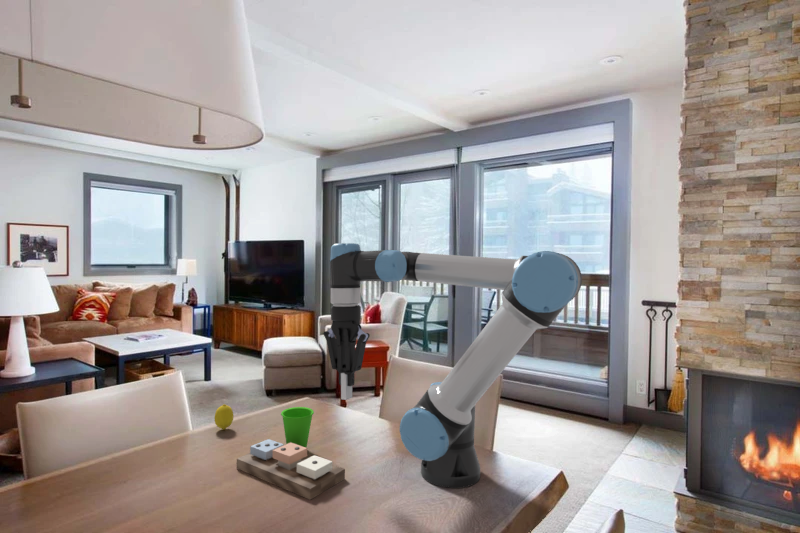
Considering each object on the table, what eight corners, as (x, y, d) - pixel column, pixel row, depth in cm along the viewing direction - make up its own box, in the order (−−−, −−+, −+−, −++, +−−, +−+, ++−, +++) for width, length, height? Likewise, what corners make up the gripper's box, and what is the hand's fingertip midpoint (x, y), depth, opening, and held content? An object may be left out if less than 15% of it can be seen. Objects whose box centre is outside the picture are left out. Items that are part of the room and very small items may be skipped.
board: (344, 478, 113) (344, 468, 113) (310, 499, 103) (310, 488, 102) (273, 452, 127) (273, 443, 127) (236, 468, 117) (236, 458, 117)
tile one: (332, 479, 111) (332, 460, 111) (314, 489, 106) (315, 469, 106) (314, 472, 114) (314, 454, 114) (296, 482, 109) (296, 463, 109)
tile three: (283, 460, 120) (283, 443, 120) (265, 469, 115) (265, 451, 115) (268, 455, 123) (268, 438, 123) (250, 463, 118) (250, 445, 118)
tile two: (306, 465, 115) (307, 447, 115) (289, 474, 110) (289, 455, 110) (290, 459, 119) (290, 441, 119) (272, 467, 114) (272, 449, 114)
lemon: (236, 429, 143) (237, 403, 143) (221, 434, 138) (222, 408, 138) (225, 425, 146) (226, 400, 146) (210, 430, 141) (210, 404, 141)
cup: (309, 458, 124) (310, 418, 123) (276, 457, 124) (276, 417, 124) (316, 444, 133) (316, 407, 132) (285, 443, 133) (285, 406, 133)
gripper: (375, 304, 115) (376, 397, 115) (334, 302, 121) (335, 391, 121) (358, 306, 108) (359, 406, 108) (315, 305, 115) (316, 398, 115)
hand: (346, 398), depth 115 cm, fingers closed
